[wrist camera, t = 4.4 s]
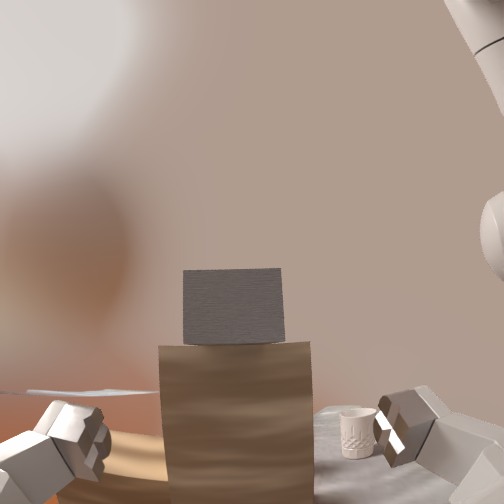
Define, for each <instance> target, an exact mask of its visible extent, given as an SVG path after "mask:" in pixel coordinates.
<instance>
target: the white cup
mask: <svg viewBox="0 0 504 504" xmlns="http://www.w3.org/2000/svg"><path fill="white" fill-rule="evenodd" d="M376 415H377V411H376V410H375V409H371V408H359V409H352V410H347V411H344V412H342V413H340V429H341V443H342V455H343V456H344V457H345V458H348V459H361V458H366V457H368V456H370V455H372V454H373V448H374V442H375V437H374V433H373V422H374V418H375V416H376Z"/></svg>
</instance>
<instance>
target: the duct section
mask: <svg viewBox="0 0 504 504" xmlns="http://www.w3.org/2000/svg"><path fill="white" fill-rule="evenodd" d="M183 337H184V338H183V341H184V344H188V345H198V346H236V345H262V344H271V343H277V342H283V341H285V330H284V312H283V295H282V280H281V268H269V269H230V270H184V271H183Z"/></svg>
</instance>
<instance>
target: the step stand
mask: <svg viewBox="0 0 504 504" xmlns="http://www.w3.org/2000/svg"><path fill="white" fill-rule="evenodd" d="M158 348H159V380H160V400H161V414H162V427H163V428H162V429H163V436H153V435H142V434H134V433H126V432H118V431H111V430H109V431H110V434H111V439H112V445H111V451H110V454H109V456H108V457H107V458H105V459H104V460H102V461H103V463H104V465H105V469H104V471H103V474H102V477H101V480H100V482H95V481H90V480H86V479H81V478H77V477H75V479H74V480H72V481H71V482H70V483H69V484H67V485H66V486H65V487H64V488H62V489H61V490H60V491H59V492H57V493H56V494H57V499H58V502H59V504H313V502H314V430H313V397H312V396H313V394H312V370H311V351H310V341H309V342H296V343H282V344H262V345H236V346H158Z"/></svg>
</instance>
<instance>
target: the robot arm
mask: <svg viewBox="0 0 504 504" xmlns="http://www.w3.org/2000/svg"><path fill="white" fill-rule="evenodd" d="M444 3H445V5H446V6H447V8H448V10H449V12H450V14H451V16H452V17H453V19H454V21H455V23H456V25H457V27H458V29H459V30H460V32H461V34H462V36H463V38H464V39H465V41H466V43H467V45H468V47H469V48H470V50H471V52H472V54H473V56H474V57H475V59H476V61H477V63H478V64H479V67H480V68H481V70H482V72H483V74H484V76H485V78H486V80H487V82H488V84H489V86H490V88H491V91H492V93H493V95H494V97H495V99H496V102H497V104H498V106H499V109H500V111H501V114H502V115H503V117H504V0H444ZM480 241H481V247H482V250H483V253H484V256H485V259H486V261H487V263H488V265H489V266H490V268H491V269H492V271H493V272H494V273H495V274H496V275H497V276H498V277H499V278H500V279H501V280H502V281H504V191H502V192H500V193H499V194H497V195H496V196H494V197H493V198H491V199H490V200H488V201H487V203H486V205H485V207H484V210H483V213H482V217H481V222H480ZM378 407H379V408H380V410H381V411H380V412H379V413H378V414H377V415H376V416H375V418H374V422H373V433H374V437H375V439H376V441H377V443H378V444H379V445H381V446H383V447H385V449H384V453H383V454H384V456H385V458H386V459H387V461H388V463H389V465H390V466H391V468H393V467H397V466H400V465H403V464H406V463H410V462H413V461H415V462H416V463H418V464H420V465H421V466H423V467H425V468H426V469H428V470H430V471H431V472H433V473H435V474H437V475H438V476H440V477H442V478H444V479H445V480H447V481H449V482H451V483H453V484H454V485H456V486H458V487H457V488H456V490H455V491H454V492H453V494H452V495H451V496H450V498H449V502H450V503H451V504H504V427H501V426H498V425H494V424H491V423H488V422H485V421H482V420H479V419H476V418H473V417H470V416H467V415H463V414H460V413H458V412H454V413H452V412H451V411H450V410H449V409H448V408H447V407H446V406H445V405H444V403H443V402H442V401H441V400H440V399H439V398H438V397H437V396H436V395H435V394H434V393H433V391H432V390H431V389H430V388H429V387H428V386H426V385H422V386H419V387H415V388H412V389H408V390H405V391H401V392H397V393H393V394H389V395H384V396H382V398H381V399H380V401H379V404H378ZM103 419H104V416H103V414H102V411H101V409H99V408H97V407H91V406H85V405H80V404H75V403H68V402H64V401H59V400H55V401H53V402H52V403H51V405H50V406H49V407H48V409H47V410H46V412H45V413H44V415H43V416H42V418H41V419H40V421H39V422H38V424H37V425H36V427H35V428H34V430H33V431H27V432H25V433H22V434H21V435H18V436H16V437H14V438H12V439H10V440H8V441H6V442H3V443H1V444H0V504H43V503H44V502H46V501H47V500H48V499H50V498H51V497H52V496H53V495H55V494H56V493H57V492H59V491H60V490H61V489H62V488H64V487H65V486H66V485H67V484H69V483H70V482H71V481H72V480H74V479H75V477H77V478H81V479H86V480H90V481H95V482H100V480H101V477H102V474H103V471H104V469H105V465H104V463H103V461H102V460H104V459H105V458H107V457H108V456H109V454H110V451H111V445H112V439H111V434H110V431H109V429H108V427H106V426H105V425H104V424H103V423H102V421H103Z"/></svg>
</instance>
